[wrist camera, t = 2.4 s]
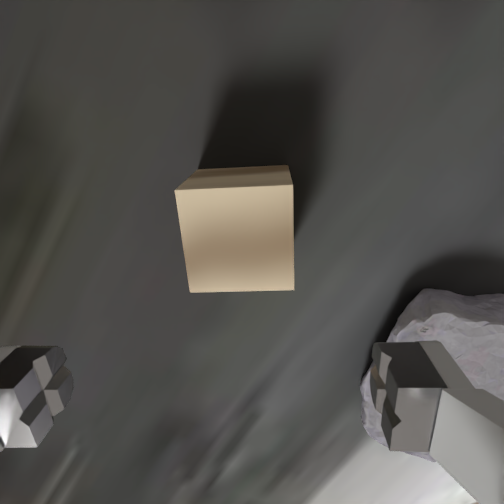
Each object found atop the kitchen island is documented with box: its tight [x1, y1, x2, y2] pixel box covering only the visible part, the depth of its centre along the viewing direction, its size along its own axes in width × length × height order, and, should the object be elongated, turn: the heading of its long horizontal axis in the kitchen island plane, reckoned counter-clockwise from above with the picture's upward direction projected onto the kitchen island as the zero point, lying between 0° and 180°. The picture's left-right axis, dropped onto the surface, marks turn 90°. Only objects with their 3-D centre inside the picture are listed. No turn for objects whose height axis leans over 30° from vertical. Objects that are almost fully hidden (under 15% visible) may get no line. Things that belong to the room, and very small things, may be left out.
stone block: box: [360, 289, 504, 462], centre depth 22 cm, size 12×5×10 cm
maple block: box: [175, 165, 294, 293], centre depth 18 cm, size 5×5×5 cm
